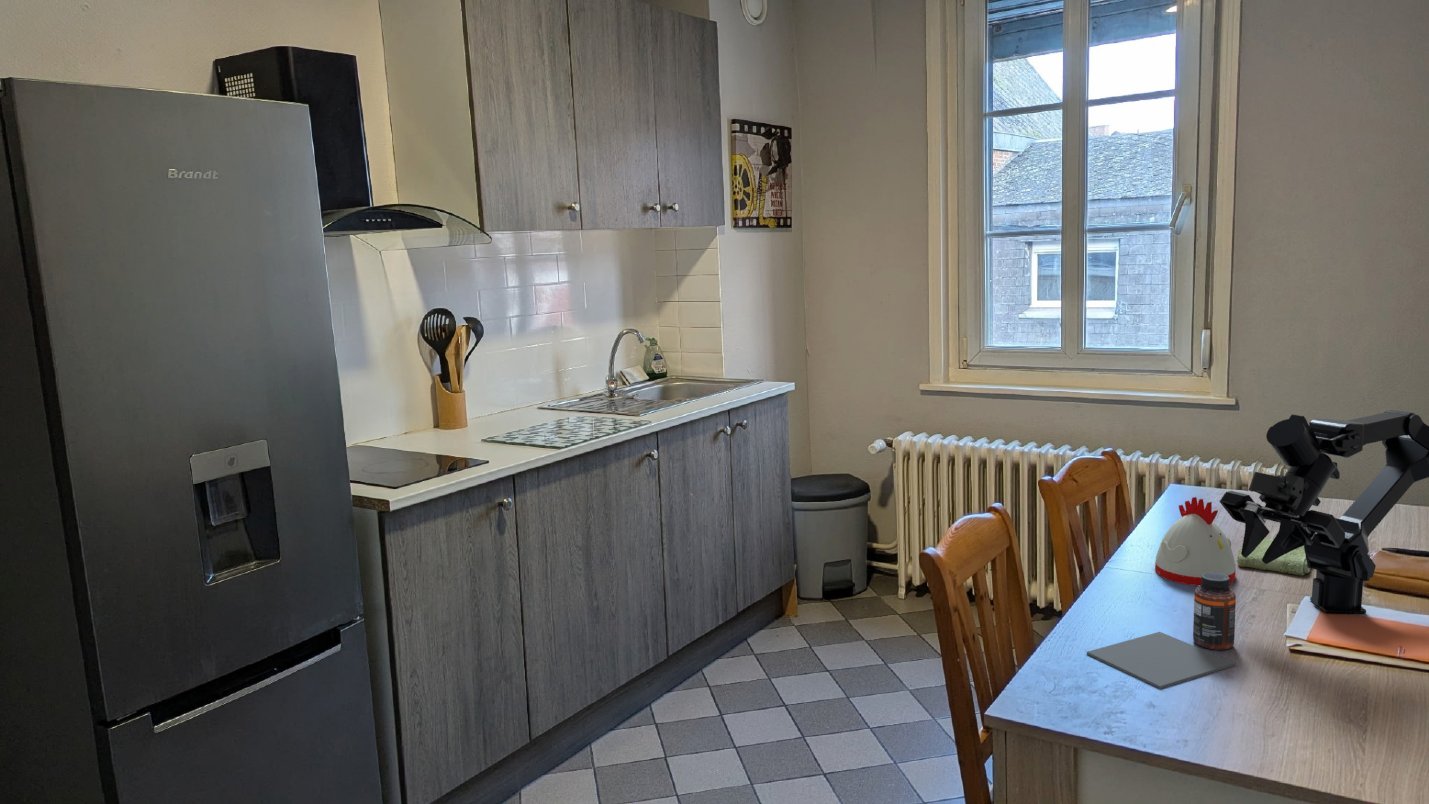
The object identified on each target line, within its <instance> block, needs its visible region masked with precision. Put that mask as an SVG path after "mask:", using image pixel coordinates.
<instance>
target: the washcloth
mask: <svg viewBox="0 0 1429 804" xmlns="http://www.w3.org/2000/svg"><path fill="white" fill-rule="evenodd" d="M1273 540H1274V538H1268V537H1265V538H1264V539H1263V541H1262V542H1261V543H1260V544H1259V545H1258V546H1257V547H1256V549H1255V550H1254V551H1253V552H1252V553H1251V554H1250V555H1249V556H1248V557H1246V558H1244V557H1243V556H1242V555H1241V551H1242V546H1241V547H1240V548H1239V550H1238V551H1237V552H1238V553H1237V557H1236V558H1237V560H1236V562H1237V566H1240V567H1241V568H1249V569H1256V570H1262V571H1270V572H1271V571H1272V572H1279V573H1282V574H1288V575H1293V576H1302V577H1303V576H1305V575H1306V574H1308V573H1310V572H1311V569H1310V568H1308V565H1307V560H1306V555H1305V550H1304V546H1302V547H1299V548H1297V549H1295V550H1292V551H1290V552H1288V553H1286V554H1284V555H1283V556H1281V557H1279V558H1277V559H1275V560H1273V561H1272V562H1270V563H1268V564H1264V563H1263V561H1262V558H1263V556H1264V554H1265V552H1266V550H1267V549H1268V547H1269V546H1270V544H1271V543H1272V541H1273Z"/></svg>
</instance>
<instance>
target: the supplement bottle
mask: <svg viewBox="0 0 1429 804" xmlns="http://www.w3.org/2000/svg"><path fill="white" fill-rule="evenodd" d="M1229 580H1230V579H1229V577H1228V576H1227V575H1224V574H1221V573H1204V574H1202V580H1201V583H1202V585H1201V586H1197V587H1196V588H1195V590H1194V594H1193V595H1194V597H1193V623H1192V624H1193V626H1192V628H1193V629H1192V640H1193V641H1194V643H1195V644H1196V645H1198V646H1199V647H1201V648H1202V647H1203V648H1205V649H1208V650H1216V651H1220V650H1228V649H1232V647H1233V646H1234V644H1235V638H1236V637H1235V635H1236V633H1235V632H1236V601H1237V597H1236V593H1235V591H1234V590H1233V589H1231V588H1230V586H1231V585H1230V584H1231V583H1229Z"/></svg>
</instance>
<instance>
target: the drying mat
mask: <svg viewBox="0 0 1429 804" xmlns="http://www.w3.org/2000/svg"><path fill="white" fill-rule="evenodd" d="M1086 655H1088V656H1090V657H1091V658H1094V659H1096V660H1098V661H1101V662H1103V663H1104V664H1107V665H1109V666H1111V667H1113V668H1115V669H1118V670H1120V671H1121V672H1124V673H1126V674H1127V675H1130V676H1132V677H1135V678H1136V679H1139V680H1140V681H1143V682H1145V683H1148V684H1149V685H1151V686H1154V687H1155V688H1158V689H1160V690H1161V689H1164V688H1167V687H1170V686H1174V685H1177V684H1179V683H1183V682H1187V681H1189V680H1192V679H1196V678H1199V677H1202V676H1206V675H1208V674H1211V673H1216V672H1219V671H1222V670H1224V669H1228V668H1232V667H1235V666H1236V662H1234V661H1232V660H1230V659H1228V658H1225V657H1223V656H1219V654H1218V655H1217V654H1215V653H1212V652H1210V651H1208V650H1206V649H1203V648H1202V647H1201V648H1200V647H1198V646H1196V645H1193V644H1190V643H1188V642H1186V641H1183V640H1181V639H1179V638H1176V637H1173V636H1171V635H1169V634H1165V633H1164V632H1161V631H1157V632H1154V633H1149V634H1145V635H1142V636H1139V637H1136V638H1132V639H1129V640H1128V639H1127V640H1125V641H1121V642H1117V643H1115V644H1114V643H1113V644H1109V645H1107V646H1104V647H1099V648H1095V649H1092V650H1088V651H1086Z"/></svg>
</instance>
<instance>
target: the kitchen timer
mask: <svg viewBox="0 0 1429 804" xmlns="http://www.w3.org/2000/svg"><path fill="white" fill-rule="evenodd" d="M1212 505H1213V502H1212V501H1208V502H1207V503H1206V504H1205V503H1204V498H1200V499H1198V498H1197V496H1193V497H1192V498H1191V502H1190V500H1185V501H1184V504H1179V505H1178V509H1179V514H1180V518H1179V519H1177V520H1175V522H1174V523H1172V525H1171V526H1170V527H1169V528H1168V530H1167V531H1166V533H1165V534H1164V536H1163V538H1162V539H1161V542H1160V545H1159V548H1158V550H1157V553H1156V556H1155V561H1154V571H1155V573H1156V574H1157V575H1158V574H1159V576H1160V577H1161V578H1163V577H1164V579H1166V580H1167V581H1171V580H1172V582H1175V583H1179V584H1183V585H1184V584H1185V585H1188V586H1189V585H1191V586H1198V585H1200V586H1201V585H1202V583H1201V580H1202V574H1204V573H1221V574H1224V575H1227V576H1228V577H1229V579H1230V580H1229V584H1231V583H1232V582H1234V581H1235V579H1236V572H1237V571H1236V570H1237V568H1236V561H1235V557H1234V553H1233V550H1232V541H1231V539H1230V537H1228V536H1227V535H1226V534H1225V532H1224V531H1223V529H1221V527H1220V526H1219V525H1218V524H1217V522H1215V519H1216V517H1217V514H1218V512H1219V510H1218V509H1215V510H1213V511H1212V508H1213V507H1212Z"/></svg>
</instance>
